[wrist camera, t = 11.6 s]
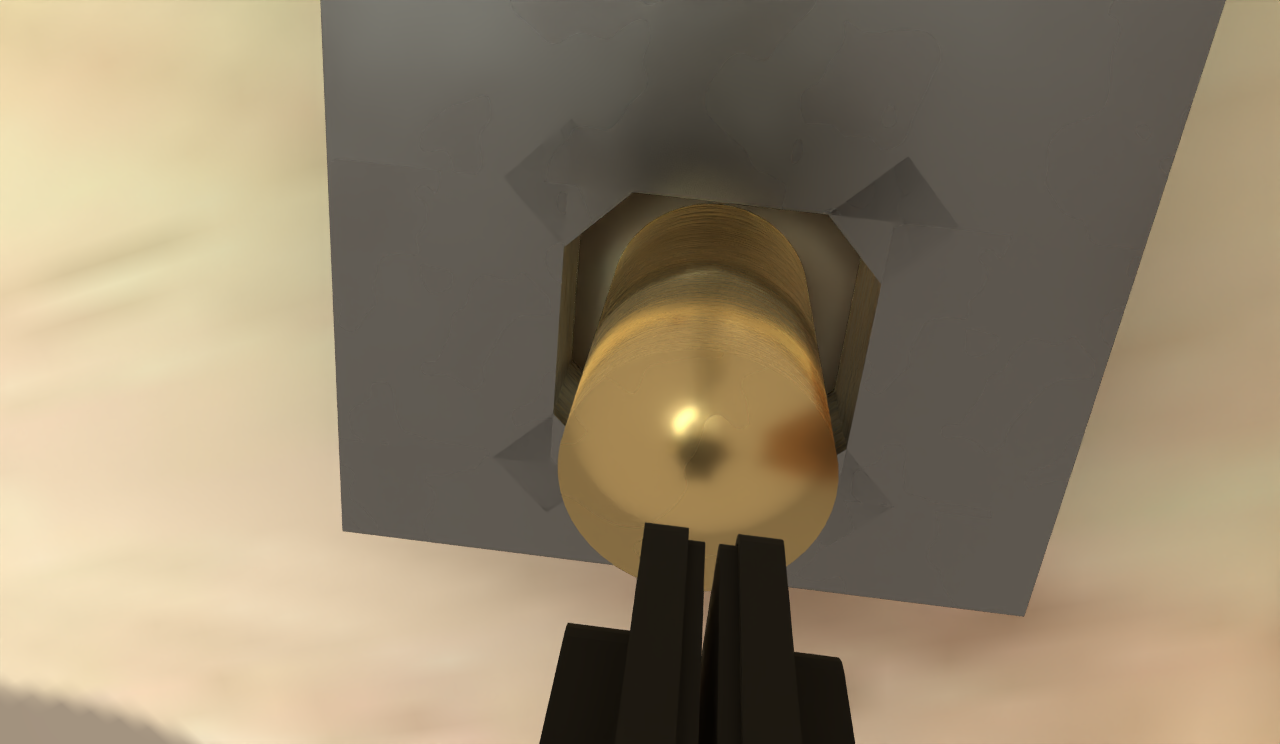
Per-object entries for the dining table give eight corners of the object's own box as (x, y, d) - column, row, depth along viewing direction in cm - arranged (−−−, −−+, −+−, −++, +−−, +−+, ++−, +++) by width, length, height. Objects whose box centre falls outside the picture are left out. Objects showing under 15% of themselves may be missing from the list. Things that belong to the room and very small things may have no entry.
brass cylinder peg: (620, 192, 20) (567, 332, 14) (823, 217, 20) (863, 369, 13) (604, 373, 22) (549, 572, 15) (790, 397, 22) (812, 607, 15)
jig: (354, -730, 14) (284, -846, 12) (1350, -645, 14) (1469, -747, 12) (380, 468, 23) (342, 530, 21) (994, 544, 23) (1024, 616, 20)
